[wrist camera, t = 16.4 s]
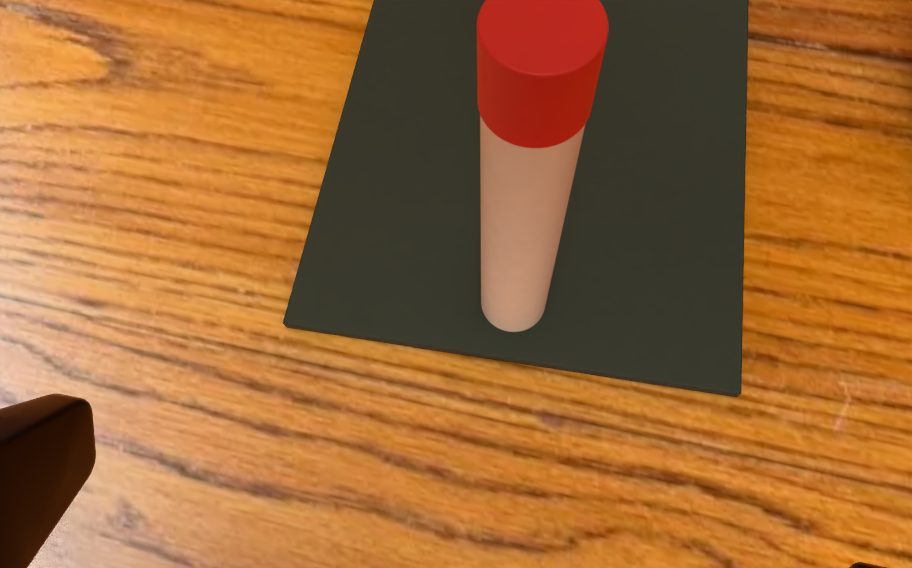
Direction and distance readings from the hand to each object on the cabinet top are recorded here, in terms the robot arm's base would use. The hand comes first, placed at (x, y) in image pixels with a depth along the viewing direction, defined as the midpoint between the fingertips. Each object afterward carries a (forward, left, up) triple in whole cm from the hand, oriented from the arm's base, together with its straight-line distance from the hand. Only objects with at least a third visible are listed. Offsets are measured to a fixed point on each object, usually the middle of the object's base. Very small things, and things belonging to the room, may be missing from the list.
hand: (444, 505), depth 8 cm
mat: (+16, +11, -13) cm, 23 cm away
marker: (+6, +4, -12) cm, 14 cm away
